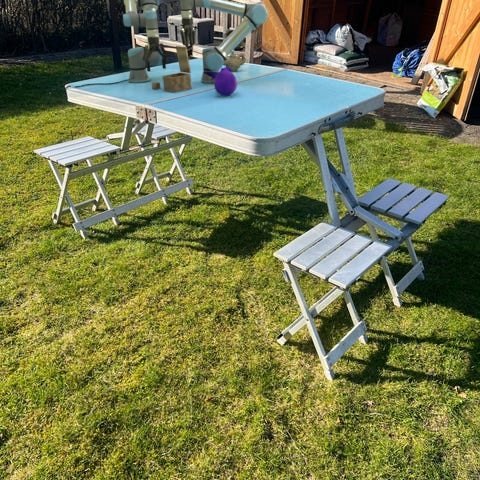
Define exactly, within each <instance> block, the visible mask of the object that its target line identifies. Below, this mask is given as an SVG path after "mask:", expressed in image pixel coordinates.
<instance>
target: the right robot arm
mask: <svg viewBox="0 0 480 480" xmlns="http://www.w3.org/2000/svg"><path fill="white" fill-rule="evenodd" d="M179 2H180V4H179V5H180V17H181V25H182V26H181V29H179V33H180V37H181V43H182V45H183V47H187V49H189V48H190V47H193V48H194V46H195V45H196V35H197V34H196V32H197V28H195V27H194V18H193V16H194V15H193V8H205V9H208V10H212V11H217V12H221V13H225V14H230V15H234V16H238V17H240V19H243V20H242V21H241V22H240V23H239V24H238V25H237V26H236V27H235V28H234V30H233V31H231V32H230V34H228V36H227V37H226V38H225V39H223V41H222V42H221V43H220V44H219V45H215V46H214V47H213V48H211V47H210V48H209V47H208V48H202V49H201V50H202V51H201V55H202V69H203V70H202V76H201V78H200V79H201V81H200V82H201V83H203V84H210V85H211V84H214V81H215V79H214V78H212V77H210V76H208V75H206V74H205V73H203V72H206V71H210V72H220V70H221V69H222V68H223V66H224V65H223V63H224V62H225V61H226V60H227V58H228V56H230V55H231V52H233V51H234V50H235V48H237V47H238V45H239V44H240V43H241V42H243V40H244V39H245V38H246V37H247V36H248V35H249V34H250V33H251V32H252V31H256V30H257V29H258V28H259V27H260V26H262V25H263V24H265V23H266V22H267V20H268V17H269V14H268V9H267V8H266V7H265V6H264V5H262V4H258V3H247V2H243V3H239V2H236V1H231V0H179ZM193 52H194V50H191V49H190V50H187V53H188V57H193V56H194V53H193Z"/></svg>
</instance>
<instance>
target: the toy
mask: <svg viewBox="0 0 480 480" xmlns="http://www.w3.org/2000/svg"><path fill="white" fill-rule="evenodd" d="M203 73H205V74H206V75H208V76H210V77H212V78H214V79H215V81H214V83H213V84H214V89H215V92H216V93H217V94H218V95H220V96H223V97H229V96H231V95H233V94H234V93H235V91H236V90H237V87H238V80H237V77H236V75H235V74H234V73H233V72H232V71H231V69H230V67H226V66H224V67H221V68H220V70H219V72H210V71H206V72H203V71H202V74H203Z"/></svg>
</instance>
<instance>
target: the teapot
mask: <svg viewBox="0 0 480 480" xmlns="http://www.w3.org/2000/svg"><path fill="white" fill-rule="evenodd" d="M240 59H241V60H240ZM245 63H246V56H245V54H244V53H243V52H241V53H239V54H236V53H235V51H234V50H232V51H231V53H230V54H229V57H227V60H226V61H225V62H224V63H223V66H224V67H230V69H231V72H237V71H238V70H239V69H240V68H241V66H243V65H244V64H245Z"/></svg>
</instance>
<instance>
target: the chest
mask: <svg viewBox="0 0 480 480" xmlns="http://www.w3.org/2000/svg"><path fill="white" fill-rule="evenodd" d="M162 85H163V91H164V92H168V93H179V92H183V91H187V90H191V89H192V78H191V73H185V72H176V73H171V74H165V75H162Z"/></svg>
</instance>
